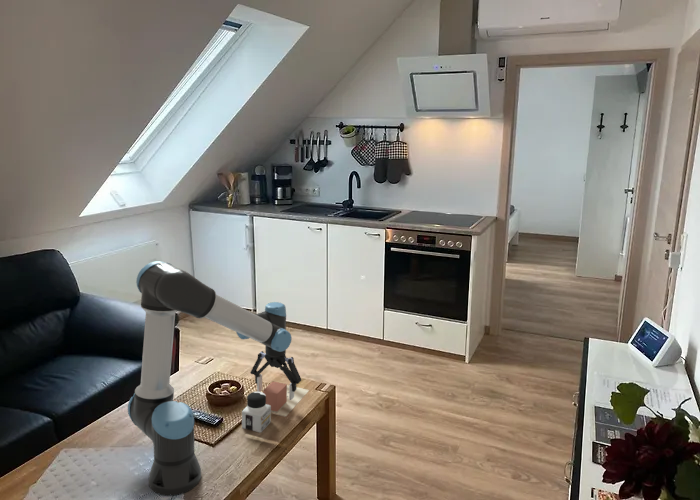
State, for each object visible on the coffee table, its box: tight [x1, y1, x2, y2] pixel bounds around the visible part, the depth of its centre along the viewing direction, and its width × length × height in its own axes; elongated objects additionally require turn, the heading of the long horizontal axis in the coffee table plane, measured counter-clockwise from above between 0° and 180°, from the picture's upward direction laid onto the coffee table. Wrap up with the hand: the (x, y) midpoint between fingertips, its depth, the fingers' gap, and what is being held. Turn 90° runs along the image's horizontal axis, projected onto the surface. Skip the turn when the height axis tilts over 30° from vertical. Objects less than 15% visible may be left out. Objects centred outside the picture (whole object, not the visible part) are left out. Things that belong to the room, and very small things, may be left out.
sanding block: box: [262, 380, 288, 413], centre depth 204 cm, size 8×6×8 cm
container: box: [241, 391, 272, 433], centre depth 192 cm, size 8×8×13 cm
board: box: [271, 384, 310, 418], centre depth 211 cm, size 22×14×1 cm, turn 161°
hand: (275, 394), depth 205 cm, fingers open, 13 cm apart
